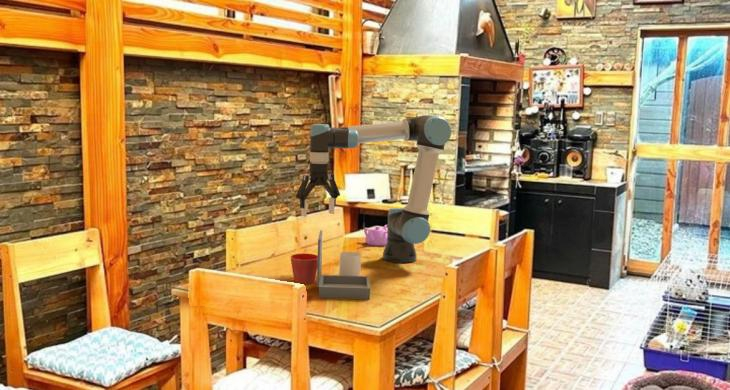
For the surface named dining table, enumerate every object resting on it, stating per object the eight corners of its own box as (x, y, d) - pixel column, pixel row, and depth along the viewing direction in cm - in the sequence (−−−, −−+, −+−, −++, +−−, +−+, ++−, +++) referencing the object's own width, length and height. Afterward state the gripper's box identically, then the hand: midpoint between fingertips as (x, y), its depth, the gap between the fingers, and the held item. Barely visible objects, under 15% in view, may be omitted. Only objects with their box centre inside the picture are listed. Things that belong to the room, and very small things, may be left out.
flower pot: (307, 286, 263) (308, 260, 261) (284, 281, 268) (285, 256, 267) (324, 280, 272) (324, 256, 270) (301, 276, 277) (301, 252, 276)
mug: (341, 274, 283) (342, 248, 282) (361, 275, 282) (362, 249, 281) (337, 281, 271) (338, 255, 270) (359, 282, 270) (360, 256, 269)
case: (368, 285, 267) (370, 231, 264) (369, 299, 248) (371, 240, 245) (317, 284, 266) (319, 229, 263) (315, 297, 248) (316, 239, 245)
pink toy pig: (386, 241, 352) (387, 224, 351) (391, 247, 338) (392, 229, 337) (363, 241, 350) (363, 223, 349) (366, 247, 337) (367, 229, 335)
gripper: (338, 160, 293) (337, 211, 295) (287, 162, 277) (286, 215, 280) (349, 162, 287) (347, 213, 290) (298, 164, 271) (297, 218, 274)
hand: (317, 215), depth 285 cm, fingers open, 13 cm apart
